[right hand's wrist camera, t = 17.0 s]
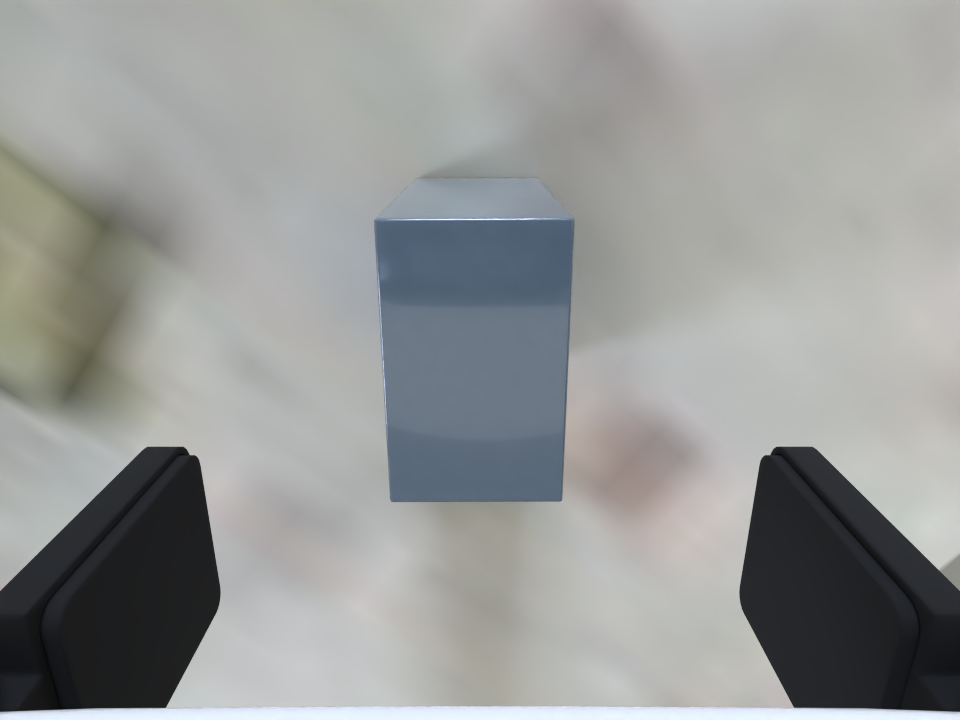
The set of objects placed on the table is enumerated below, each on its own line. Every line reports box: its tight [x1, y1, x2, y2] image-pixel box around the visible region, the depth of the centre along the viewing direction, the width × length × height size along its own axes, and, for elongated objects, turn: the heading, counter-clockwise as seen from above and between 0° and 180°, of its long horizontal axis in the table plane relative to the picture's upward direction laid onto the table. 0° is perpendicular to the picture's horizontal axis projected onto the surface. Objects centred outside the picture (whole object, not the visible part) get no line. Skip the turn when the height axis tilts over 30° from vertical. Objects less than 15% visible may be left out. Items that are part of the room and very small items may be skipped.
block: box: [374, 178, 575, 502], centre depth 23 cm, size 5×8×11 cm, turn 0°
